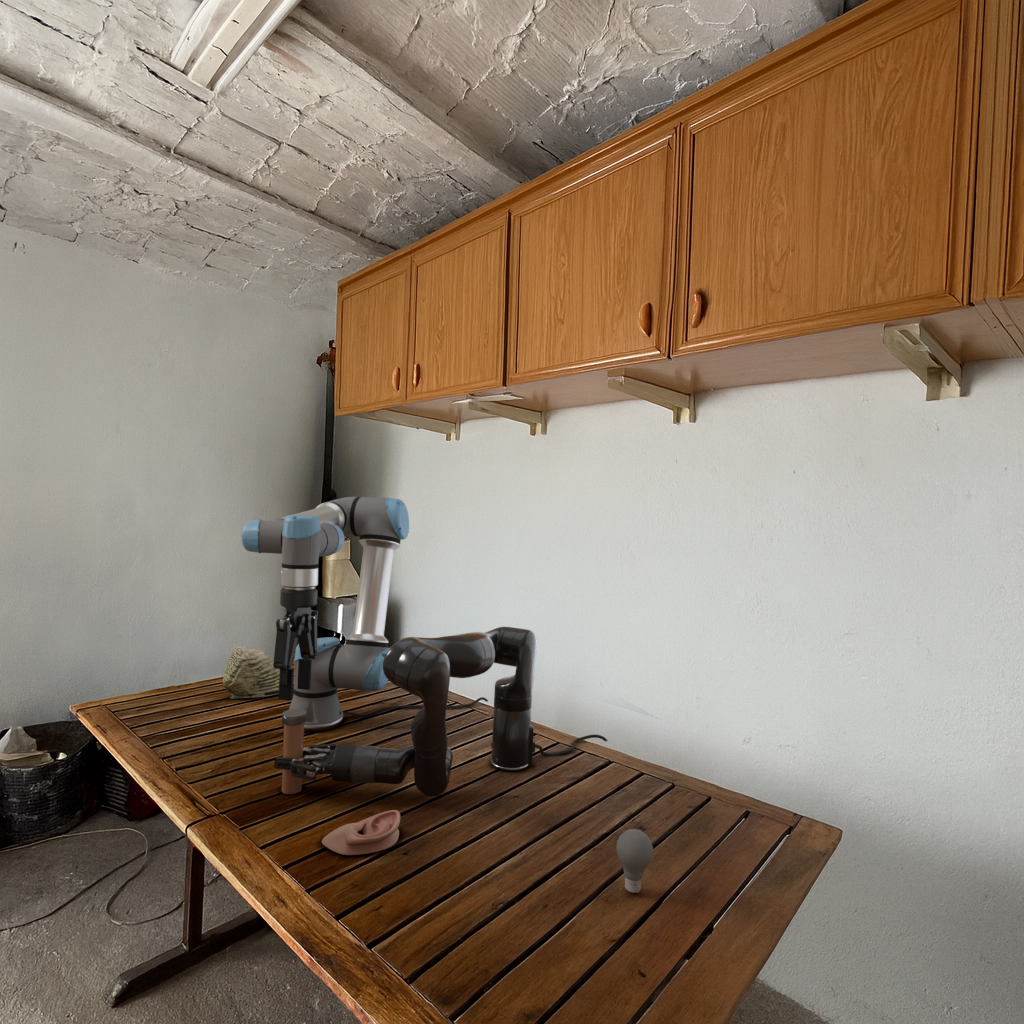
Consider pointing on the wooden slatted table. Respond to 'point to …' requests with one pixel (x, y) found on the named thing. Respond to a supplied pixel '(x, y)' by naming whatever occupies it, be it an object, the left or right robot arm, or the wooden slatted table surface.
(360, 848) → the anatomical model
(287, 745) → the brown cylindrical rod
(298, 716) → the lid
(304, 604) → the left robot arm
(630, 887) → the light bulb
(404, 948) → the wooden slatted table surface
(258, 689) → the fossil
